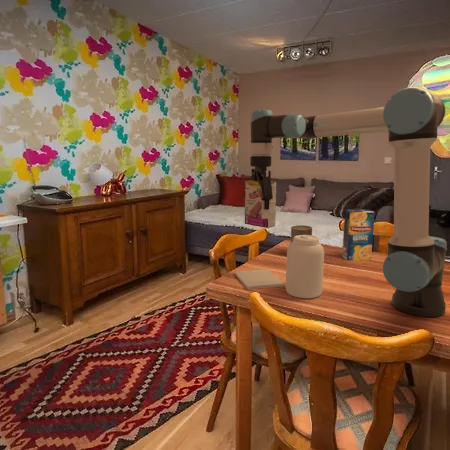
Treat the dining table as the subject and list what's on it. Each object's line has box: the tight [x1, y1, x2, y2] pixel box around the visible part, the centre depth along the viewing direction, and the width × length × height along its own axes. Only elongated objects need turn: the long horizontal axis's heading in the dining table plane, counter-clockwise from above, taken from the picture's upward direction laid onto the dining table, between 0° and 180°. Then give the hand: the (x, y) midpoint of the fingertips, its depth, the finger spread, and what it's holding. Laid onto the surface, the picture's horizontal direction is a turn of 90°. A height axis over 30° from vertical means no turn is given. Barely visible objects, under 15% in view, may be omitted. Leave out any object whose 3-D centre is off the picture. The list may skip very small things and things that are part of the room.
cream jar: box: [285, 234, 325, 299], centre depth 127 cm, size 12×12×20 cm
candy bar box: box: [244, 179, 277, 229], centre depth 136 cm, size 11×5×16 cm, turn 47°
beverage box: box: [341, 209, 376, 262], centre depth 168 cm, size 7×11×22 cm, turn 91°
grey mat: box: [234, 268, 285, 290], centre depth 141 cm, size 17×14×1 cm
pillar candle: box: [290, 224, 313, 243], centre depth 172 cm, size 10×10×15 cm
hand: (259, 215), depth 137 cm, fingers closed on candy bar box, 12 cm apart
